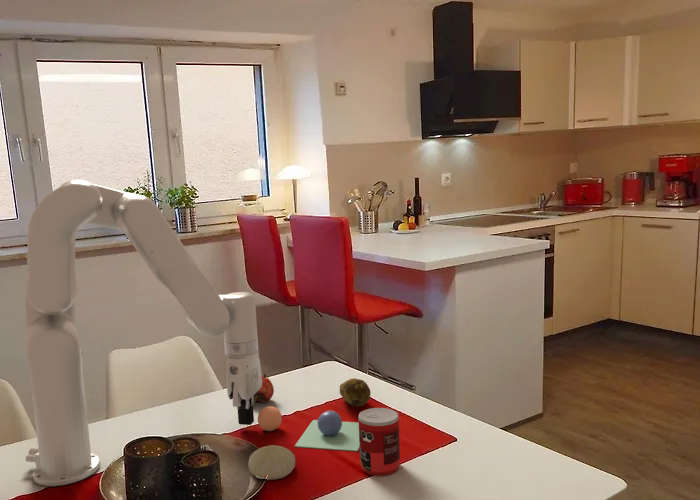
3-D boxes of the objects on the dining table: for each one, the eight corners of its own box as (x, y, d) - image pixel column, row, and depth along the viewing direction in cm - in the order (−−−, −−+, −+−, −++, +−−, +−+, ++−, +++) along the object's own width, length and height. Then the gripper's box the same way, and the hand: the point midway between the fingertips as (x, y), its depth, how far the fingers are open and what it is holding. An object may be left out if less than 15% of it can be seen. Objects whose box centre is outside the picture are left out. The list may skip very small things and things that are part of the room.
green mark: (294, 446, 137) (294, 445, 137) (313, 420, 150) (313, 419, 150) (357, 451, 134) (357, 450, 134) (370, 424, 147) (370, 423, 147)
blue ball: (339, 419, 138) (337, 442, 139) (345, 409, 143) (343, 432, 144) (315, 414, 139) (313, 437, 140) (322, 404, 145) (320, 426, 146)
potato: (373, 396, 164) (372, 367, 163) (370, 416, 151) (369, 384, 150) (341, 396, 165) (339, 367, 164) (335, 416, 152) (334, 384, 151)
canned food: (360, 458, 130) (358, 407, 129) (399, 457, 130) (397, 406, 129) (359, 477, 123) (357, 423, 121) (401, 476, 123) (399, 422, 121)
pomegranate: (269, 416, 160) (285, 383, 166) (253, 400, 155) (271, 366, 161) (247, 414, 164) (264, 381, 170) (231, 398, 160) (249, 365, 166)
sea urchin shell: (291, 475, 121) (261, 446, 121) (265, 501, 123) (236, 472, 123) (304, 453, 130) (276, 426, 130) (280, 477, 131) (252, 450, 132)
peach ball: (272, 407, 142) (281, 429, 142) (279, 399, 148) (288, 421, 148) (250, 415, 144) (260, 437, 144) (258, 407, 149) (267, 429, 149)
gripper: (243, 357, 136) (249, 438, 139) (268, 338, 150) (272, 411, 153) (211, 356, 138) (217, 436, 140) (239, 337, 152) (243, 409, 155)
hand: (246, 423), depth 147 cm, fingers closed
